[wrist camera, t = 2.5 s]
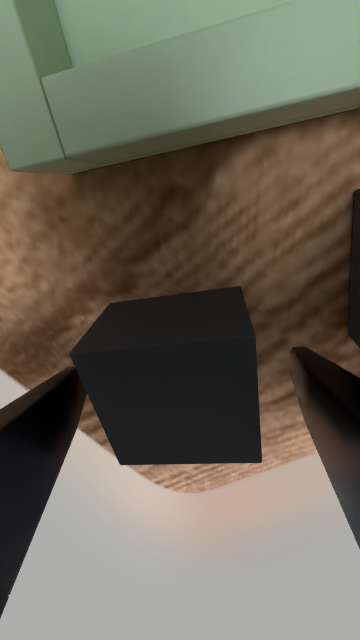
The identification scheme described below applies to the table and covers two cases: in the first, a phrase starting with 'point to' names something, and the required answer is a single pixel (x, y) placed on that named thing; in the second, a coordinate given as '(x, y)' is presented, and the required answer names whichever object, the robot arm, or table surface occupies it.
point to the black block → (355, 276)
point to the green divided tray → (165, 74)
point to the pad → (175, 378)
